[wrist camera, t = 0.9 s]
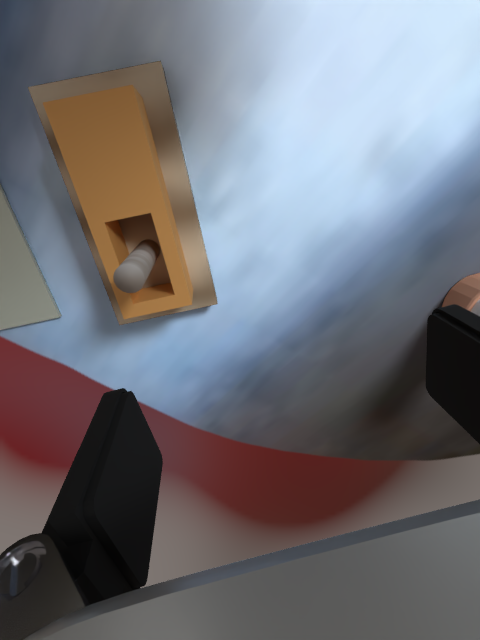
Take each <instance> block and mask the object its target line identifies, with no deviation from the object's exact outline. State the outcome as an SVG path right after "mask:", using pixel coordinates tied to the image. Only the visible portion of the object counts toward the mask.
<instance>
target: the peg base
mask: <svg viewBox="0 0 480 640" xmlns="http://www.w3.org/2000/svg"><path fill="white" fill-rule="evenodd" d="M128 85H133V86H134V87H135V89H136V90H137V91H138V92H139V94H140V95H141V96H142V98H143V102H144V105H145V109H146V113H147V117H148V121H149V124H150V128H151V132H152V136H153V140H154V143H155V147H156V151H157V155H158V158H159V162H160V166H161V170H162V174H163V177H164V181H165V185H166V189H167V193H168V196H169V200H170V204H171V208H172V212H173V215H174V219H175V223H176V227H177V231H178V234H179V238H180V242H181V246H182V249H183V253H184V257H185V261H186V265H187V268H188V272H189V276H190V280H191V284H192V287H193V299H192V305H189V306H184V307H179V308H175V309H170V310H165V311H161V312H156V313H151V314H147V315H142V316H138V317H133V318H128V319H124V318H123V315H122V313H121V310H120V307H119V305H118V302H117V299H116V297H115V294H114V291H113V289H112V286H111V283H110V281H109V278H108V275H107V273H106V270H105V267H104V265H103V262H102V260H101V257H100V254H99V252H98V249H97V246H96V244H95V241H94V238H93V236H92V233H91V230H90V228H89V225H88V222H87V220H86V217H85V214H84V212H83V209H82V206H81V204H80V201H79V198H78V196H77V193H76V190H75V188H74V185H73V182H72V180H71V177H70V174H69V172H68V169H67V166H66V164H65V161H64V158H63V156H62V153H61V151H60V148H59V145H58V143H57V140H56V137H55V135H54V132H53V129H52V127H51V124H50V121H49V119H48V116H47V113H46V111H45V108H44V105H43V102H48V101H53V100H58V99H63V98H68V97H73V96H78V95H83V94H88V93H93V92H98V91H103V90H108V89H113V88H118V87H123V86H128ZM28 89H29V92H30V94H31V97H32V99H33V102H34V104H35V107H36V110H37V112H38V115H39V117H40V120H41V123H42V125H43V128H44V130H45V133H46V136H47V138H48V141H49V143H50V146H51V149H52V151H53V154H54V156H55V159H56V162H57V164H58V167H59V169H60V172H61V174H62V177H63V180H64V182H65V185H66V187H67V190H68V193H69V195H70V198H71V200H72V203H73V206H74V208H75V211H76V213H77V216H78V219H79V221H80V224H81V226H82V229H83V232H84V234H85V237H86V239H87V242H88V244H89V247H90V250H91V252H92V255H93V257H94V260H95V263H96V265H97V268H98V270H99V273H100V276H101V278H102V281H103V283H104V286H105V289H106V291H107V294H108V296H109V299H110V301H111V304H112V307H113V309H114V312H115V314H116V317H117V320H118V322H119V325H123V324H128V323H132V322H137V321H141V320H146V319H151V318H155V317H160V316H165V315H169V314H174V313H179V312H183V311H188V310H192V309H197V308H202V307H206V306H211V305H216V304H217V297H216V292H215V288H214V284H213V280H212V275H211V271H210V267H209V262H208V258H207V254H206V250H205V245H204V241H203V237H202V232H201V228H200V224H199V220H198V215H197V211H196V207H195V202H194V198H193V194H192V190H191V185H190V181H189V177H188V172H187V168H186V164H185V160H184V155H183V151H182V147H181V142H180V138H179V134H178V130H177V125H176V121H175V117H174V112H173V108H172V104H171V100H170V95H169V91H168V87H167V82H166V78H165V74H164V70H163V67H162V64H161V61H157V62H152V63H147V64H142V65H137V66H132V67H127V68H122V69H117V70H112V71H107V72H102V73H97V74H92V75H86V76H81V77H76V78H71V79H66V80H61V81H56V82H51V83H46V84H41V85H36V86H31V87H28ZM118 221H119V224H120V227H121V230H122V233H123V236H124V239H125V242H126V245H127V248H128V251H129V255H128V257H127V258H126V259H125V260H124V261H123V262H122V263H121V264H120V266H119V267H118V268H117V269H116V270H115V272H114V276H113V279H114V283H115V285H116V286H117V287H118V288H119V289H120V290H121V291H123V292H126V293H135V292H138V291H139V290H140V289H142V288H147V287H152V286H156V285H161V284H166V283H170V282H171V280H170V277H169V273H168V270H167V266H166V263H165V259H164V256H163V253H162V249H161V246H160V242H159V239H158V235H157V232H156V229H155V225H154V222H153V218H152V215H151V213H148V214H143V215H138V216H133V217H129V218H124V219H119V220H118Z"/></svg>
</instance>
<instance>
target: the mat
mask: <svg viewBox="0 0 480 640" xmlns="http://www.w3.org/2000/svg"><path fill="white" fill-rule="evenodd" d="M59 317H61V314H60V311H59V309H58V307H57V305H56V303H55V301H54V299H53V296H52V294H51V292H50V290H49V288H48V286H47V283H46V281H45V279H44V277H43V275H42V273H41V271H40V268H39V266H38V264H37V262H36V260H35V258H34V256H33V253H32V251H31V249H30V247H29V245H28V243H27V240H26V238H25V236H24V234H23V232H22V230H21V228H20V225H19V223H18V221H17V219H16V217H15V215H14V213H13V210H12V208H11V206H10V204H9V202H8V200H7V197H6V195H5V193H4V191H3V189H2V187H1V185H0V330H3V329H8V328H12V327H17V326H22V325H26V324H31V323H36V322H40V321H45V320H50V319H54V318H59Z"/></svg>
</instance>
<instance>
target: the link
mask: <svg viewBox="0 0 480 640" xmlns="http://www.w3.org/2000/svg"><path fill="white" fill-rule="evenodd" d="M43 105H44V108H45V111H46V113H47V116H48V119H49V121H50V124H51V127H52V129H53V132H54V135H55V137H56V140H57V143H58V145H59V148H60V151H61V153H62V156H63V158H64V161H65V164H66V166H67V169H68V172H69V174H70V177H71V180H72V182H73V185H74V188H75V190H76V193H77V196H78V198H79V201H80V204H81V206H82V209H83V212H84V214H85V217H86V220H87V222H88V225H89V228H90V230H91V233H92V236H93V238H94V241H95V244H96V246H97V249H98V252H99V254H100V257H101V260H102V262H103V265H104V267H105V270H106V273H107V275H108V278H109V281H110V283H111V286H112V289H113V291H114V294H115V297H116V299H117V302H118V305H119V307H120V310H121V313H122V315H123V318H124V319H128V318H133V317H138V316H142V315H147V314H151V313H156V312H161V311H165V310H170V309H175V308H179V307H184V306H189V305H192V299H193V287H192V284H191V280H190V276H189V272H188V268H187V265H186V261H185V257H184V253H183V249H182V246H181V242H180V238H179V234H178V231H177V227H176V223H175V219H174V215H173V212H172V208H171V204H170V200H169V196H168V193H167V189H166V185H165V181H164V177H163V174H162V170H161V166H160V162H159V158H158V155H157V151H156V147H155V143H154V140H153V136H152V132H151V128H150V124H149V121H148V117H147V113H146V109H145V105H144V102H143V98H142V96H141V95H140V94H139V92H138V91H137V90H136V89H135V87H134V86H133V85H128V86H123V87H118V88H113V89H108V90H103V91H98V92H93V93H88V94H83V95H78V96H73V97H68V98H63V99H58V100H53V101H48V102H43ZM148 213H151V215H152V218H153V222H154V225H155V229H156V232H157V235H158V239H159V242H160V246H161V249H162V253H163V256H164V259H165V263H166V266H167V270H168V273H169V277H170V280H171V282H170V283H166V284H161V285H156V286H152V287H147V288H142V289H140V290H139V291H138V292H135V293H126V292H123V291H121V290H120V289H119V288H118V287H117V286H116V285H115V283H114V279H113V276H114V272H115V270H116V269H117V268H118V267H119V266H120V264H121V263H122V262H123V261H124V260H125V259H126V258H127V257H128V255H129V251H128V248H127V245H126V242H125V239H124V236H123V233H122V230H121V227H120V224H119V221H118V220H119V219H124V218H129V217H133V216H138V215H143V214H148Z"/></svg>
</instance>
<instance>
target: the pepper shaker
mask: <svg viewBox="0 0 480 640" xmlns="http://www.w3.org/2000/svg"><path fill="white" fill-rule="evenodd" d="M453 304H456V305H459V306H461V307H463V308H465V309H467V310H468V311H470V312H472V313H474V314H476V315H478V316H480V273H477V274H473V275H470V276H467V277H465V278H464V279H462V280H460V281H459V282H458V283H456V284H455V285H454V286H453V287H452V288H451V289H450V291H449V292H448V294H447V295H446V297H445V299H444V302H443V305H442V307H445V306H449V305H453Z"/></svg>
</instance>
